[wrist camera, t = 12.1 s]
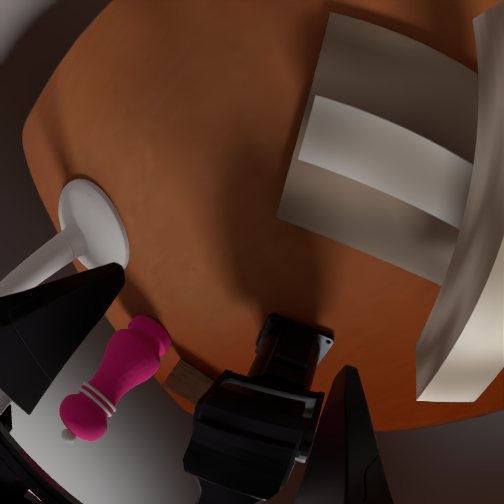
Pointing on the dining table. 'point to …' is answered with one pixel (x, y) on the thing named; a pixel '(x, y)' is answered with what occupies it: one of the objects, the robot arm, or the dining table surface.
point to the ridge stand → (385, 148)
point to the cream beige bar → (473, 252)
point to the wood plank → (188, 382)
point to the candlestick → (75, 238)
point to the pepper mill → (114, 378)
